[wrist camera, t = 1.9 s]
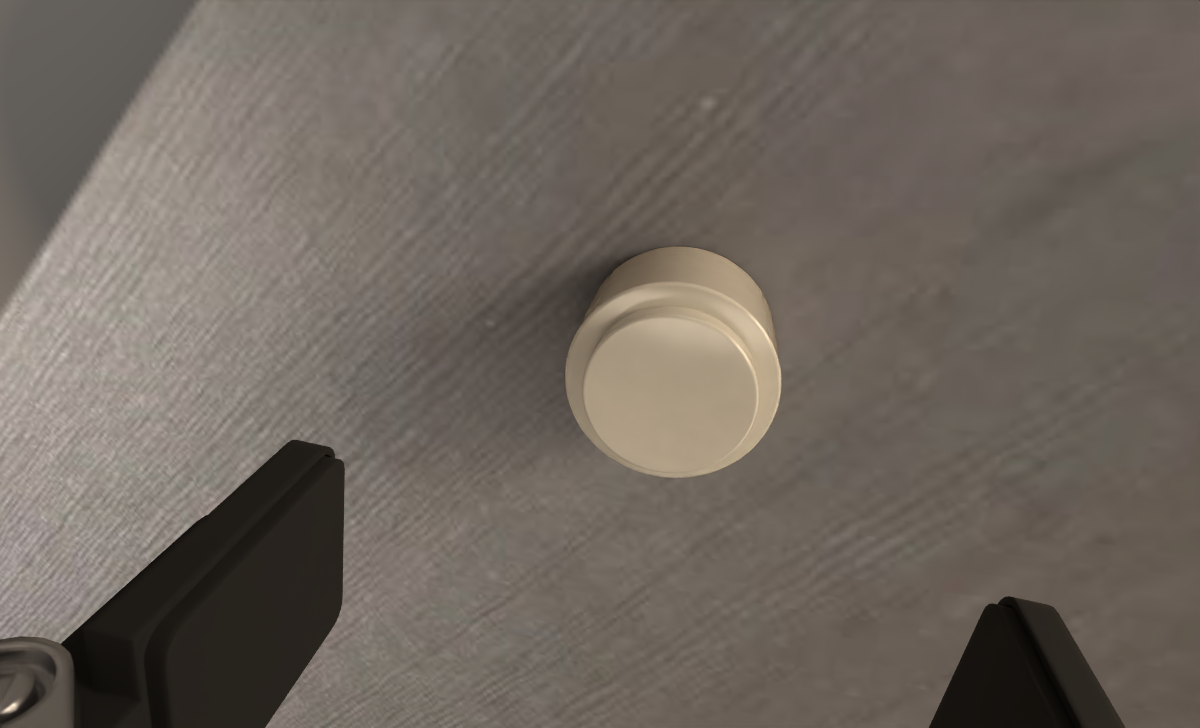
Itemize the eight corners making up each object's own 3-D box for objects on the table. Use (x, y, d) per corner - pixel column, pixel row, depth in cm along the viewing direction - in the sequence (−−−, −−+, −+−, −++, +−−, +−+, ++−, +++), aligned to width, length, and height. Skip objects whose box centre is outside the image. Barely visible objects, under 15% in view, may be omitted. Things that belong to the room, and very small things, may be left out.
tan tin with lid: (601, 228, 19) (574, 270, 15) (795, 266, 18) (810, 316, 15) (574, 399, 21) (546, 468, 17) (749, 435, 20) (753, 513, 17)
